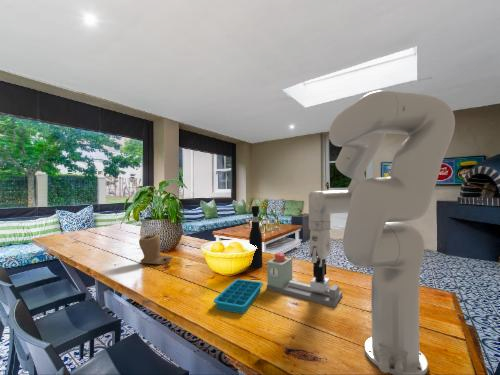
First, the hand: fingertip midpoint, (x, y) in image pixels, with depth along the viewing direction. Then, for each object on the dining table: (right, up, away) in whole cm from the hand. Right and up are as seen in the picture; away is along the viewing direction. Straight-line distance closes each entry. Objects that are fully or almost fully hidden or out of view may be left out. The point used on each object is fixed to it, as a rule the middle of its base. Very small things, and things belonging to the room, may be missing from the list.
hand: (319, 275), depth 88 cm
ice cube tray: (-29, -9, -1) cm, 30 cm away
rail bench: (-5, -8, +4) cm, 10 cm away
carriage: (0, -6, 0) cm, 6 cm away
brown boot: (-76, -9, +40) cm, 86 cm away
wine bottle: (-22, -8, +34) cm, 41 cm away
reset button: (-13, -1, +9) cm, 16 cm away
